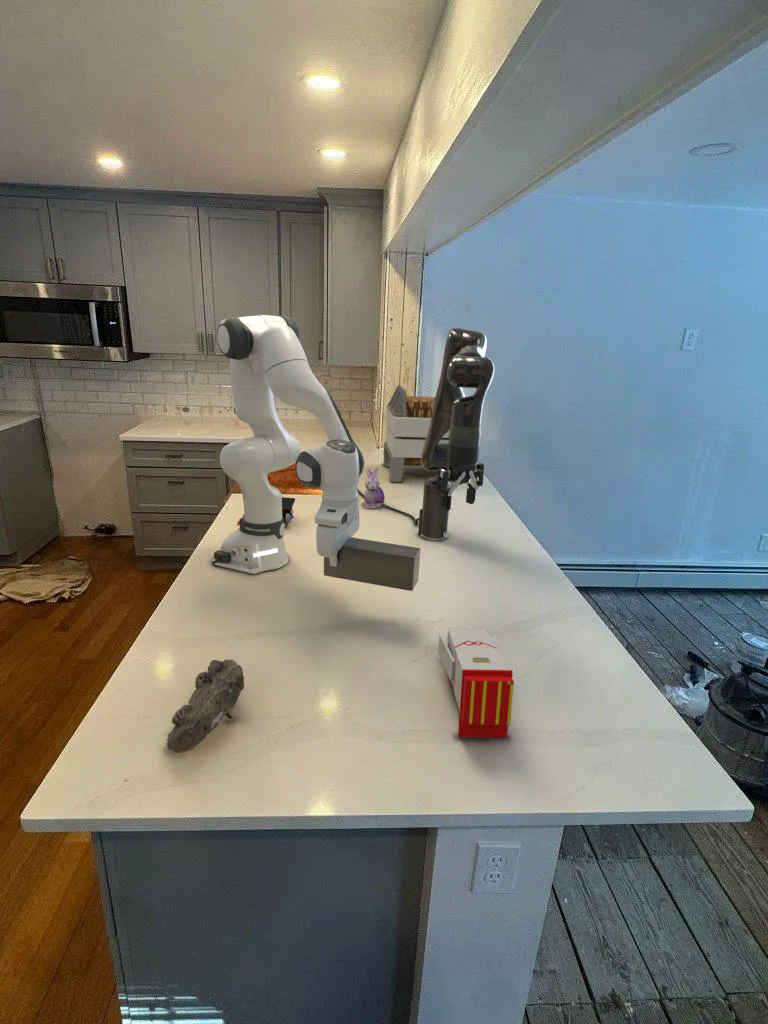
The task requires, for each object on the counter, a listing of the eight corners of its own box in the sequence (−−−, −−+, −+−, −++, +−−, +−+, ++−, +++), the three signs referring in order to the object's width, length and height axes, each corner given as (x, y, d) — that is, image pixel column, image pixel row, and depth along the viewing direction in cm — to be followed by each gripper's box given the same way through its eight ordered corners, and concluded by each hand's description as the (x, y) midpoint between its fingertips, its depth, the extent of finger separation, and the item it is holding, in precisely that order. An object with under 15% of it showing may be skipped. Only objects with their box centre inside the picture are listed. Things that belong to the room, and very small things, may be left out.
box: (418, 580, 141) (420, 548, 138) (412, 591, 136) (414, 557, 133) (332, 565, 147) (332, 534, 144) (323, 575, 142) (323, 543, 139)
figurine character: (291, 533, 199) (296, 514, 213) (290, 514, 196) (295, 495, 209) (271, 532, 199) (278, 513, 213) (270, 513, 196) (277, 495, 209)
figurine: (368, 510, 221) (370, 473, 216) (357, 502, 229) (358, 466, 224) (390, 507, 225) (391, 471, 220) (378, 500, 233) (379, 464, 228)
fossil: (192, 660, 117) (244, 628, 112) (224, 691, 120) (276, 661, 115) (142, 746, 98) (202, 712, 93) (182, 779, 101) (242, 748, 96)
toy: (488, 613, 130) (523, 677, 101) (484, 667, 133) (517, 744, 104) (435, 612, 130) (455, 676, 101) (432, 666, 133) (451, 743, 103)
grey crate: (382, 463, 289) (386, 382, 275) (445, 464, 293) (451, 384, 279) (390, 482, 257) (394, 392, 243) (460, 483, 261) (468, 394, 247)
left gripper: (343, 493, 148) (342, 542, 152) (311, 519, 129) (311, 574, 134) (366, 496, 146) (364, 546, 151) (337, 523, 128) (336, 578, 132)
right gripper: (472, 436, 143) (466, 497, 148) (431, 442, 134) (427, 507, 139) (495, 442, 137) (488, 505, 143) (454, 449, 129) (449, 516, 134)
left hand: (339, 559), depth 142 cm, fingers closed on box, 6 cm apart
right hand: (458, 506), depth 141 cm, fingers open, 8 cm apart
